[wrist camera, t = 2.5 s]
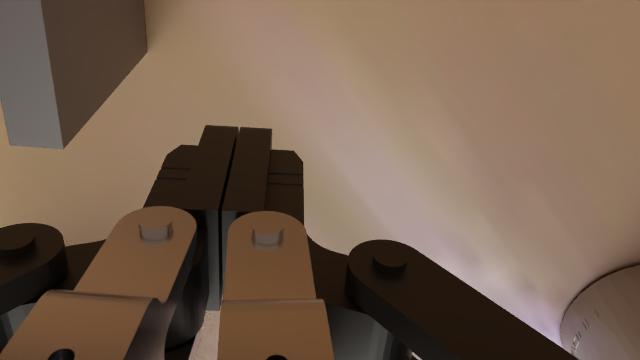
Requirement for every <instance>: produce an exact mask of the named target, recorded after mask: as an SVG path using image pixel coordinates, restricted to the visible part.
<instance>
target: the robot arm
mask: <svg viewBox="0 0 640 360" xmlns="http://www.w3.org/2000/svg"><path fill="white" fill-rule="evenodd" d="M222 294H223V300H222ZM221 300H222V302H221ZM220 305H221V312H220V327H219V342H218V357H217V360H418V359H416V358H415V357H414V356H413V355H412V352H414V353H415V354H416V355H417V356H419V357H420V358H421V359H422V360H640V265H638V266H633V267H629V268H625V269H622V270H620V271H617V272H615V273H612V274H610V275H607V276H606V277H604V278H602V279H600V280H599V281H597V282H595V283H594V284H592V285H591V286H590V287H588V288H587V289H586V290H585V291H583V292H582V293H581V294H580V295H579V296H578V297H577V298H576V299H575V301H574V302H573V303H572V304H571V305H570V307H569V308H568V310H567V312H566V314H565V315H564V317H563V321H562V324H561V328H560V340H561V343H562V346H563V348H561V347H560V346H558V345H557V344H555V343H554V342H552V341H551V340H549V339H548V338H547V337H545V336H544V335H542V334H541V333H539V332H538V331H536V330H535V329H533V328H532V327H530V326H529V325H527V324H526V323H524V322H523V321H521V320H520V319H518V318H517V317H515V316H514V315H512V314H511V313H509V312H508V311H506V310H505V309H503V308H502V307H500V306H499V305H497V304H496V303H494V302H493V301H491V300H490V299H488V298H487V297H486V296H484V295H483V294H481V293H480V292H478V291H477V290H475V289H474V288H472V287H471V286H469V285H468V284H466V283H465V282H463V281H462V280H460V279H459V278H457V277H456V276H454V275H453V274H451V273H450V272H448V271H447V270H445V269H444V268H442V267H441V266H439V265H438V264H436V263H435V262H433V261H432V260H430V259H429V258H427V257H426V256H425V255H423V254H422V253H420V252H419V251H417V250H415V249H414V248H412V247H410V246H408V245H406V244H403V243H400V242H396V241H392V240H371V241H366V242H363V243H361V244H359V245H357V246H356V247H354V248H353V249H352V250H351V252H350V254H349V256H348V255H344V254H340V253H336V252H333V251H330V250H328V249H325V248H323V247H321V246H320V245H318V244H316V243H315V242H314V241H313V240H312V239H311V238H310V237H309V236H308V235H307V233H306V229H305V227H304V189H303V161H302V160H301V159H300V158H299V156H298V155H297V154H296V153H295V152H294V151H289V150H272V129H267V128H249V127H240V131H239V129H238V127H230V126H213V125H206V126H205V128H204V131H203V134H202V137H201V139H200V142H199V145H198V146H196V145H180V146H179V147H177V148H176V149H174V150H173V151H172V152H170V153H169V154H167V156H166V158H165V160H164V162H163V165H162V167H161V170H160V171H159V173H158V176H157V180H155V182H154V184H153V187H152V189H151V191H150V193H149V195H148V198H147V200H146V202H145V204H144V207H143V208H142V209H139V210H136V211H133V212H131V213H129V214H127V215H125V216H124V217H123V218H121V219H120V220H119V221H118V223H117V224H116V225H115V227H114V228H113V230H112V231H111V233H110V235H109V236H108V238H107V239H105V240H102V241H97V242H92V243H85V244H79V245H72V246H66V247H65V245H64V240H63V236H62V234H61V233H60V232H59V231H58V230H57V229H55V228H54V227H52V226H49V225H45V224H39V223H23V224H15V225H10V226H6V227H3V228H0V360H196V357H197V353H198V350H199V347H200V343H201V327H202V324H203V321H204V316H205V311H206V310H211V311H220Z"/></svg>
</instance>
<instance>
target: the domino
mask: <svg viewBox="0 0 640 360" xmlns="http://www.w3.org/2000/svg"><path fill="white" fill-rule="evenodd" d="M146 53H147V42H146V26H145V10H144V0H0V100H1V104H2V109H3V114H4V119H5V124H6V128H7V133H8V138H9V143H10V145H14V146H27V147H41V148H54V149H64V148H65V147H66V146H67V145H68V143H69V142H70V141H71V140H72V139H73V138H74V136H75V135H76V134H77V133H78V132H79V131H80V130H81V128H82V127H83V126H84V125H85V124H86V123H87V121H88V120H89V119H90V118H91V117H92V116H93V114H94V113H95V112H96V111H97V110H98V109H99V108H100V106H101V105H102V104H103V103H104V102H105V101H106V99H107V98H108V97H109V96H110V95H111V94H112V92H113V91H114V90H115V89H116V88H117V87H118V86H119V84H120V83H121V82H122V81H123V80H124V79H125V77H126V76H127V75H128V74H129V73H130V72H131V70H132V69H133V68H134V67H135V66H136V65H137V64H138V62H139V61H140V60H141V59H142V58H143V57H144V55H145V54H146Z"/></svg>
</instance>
